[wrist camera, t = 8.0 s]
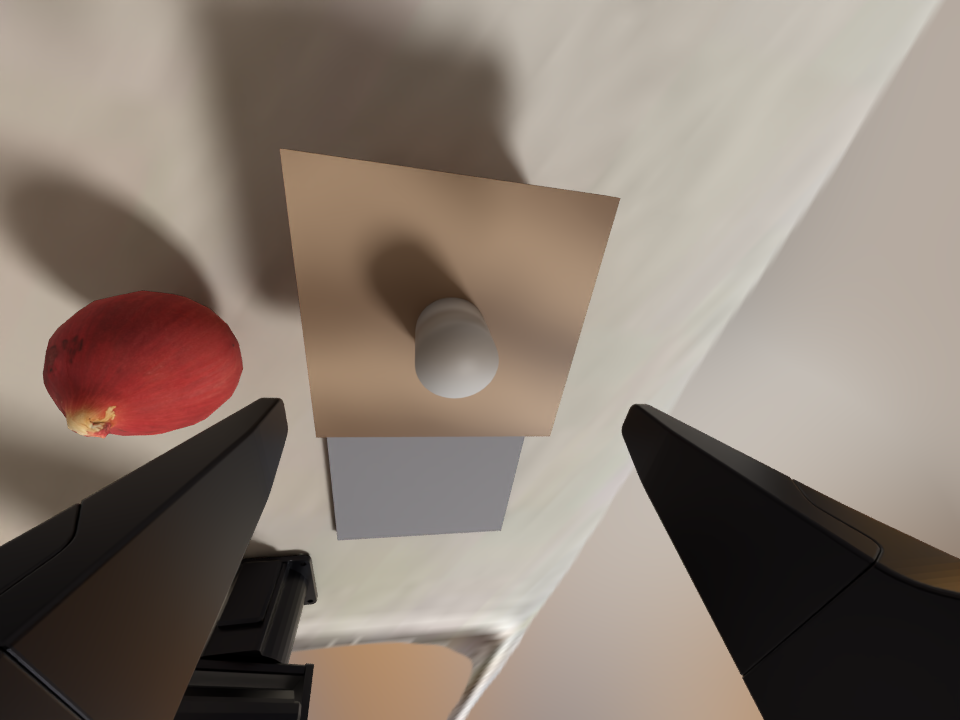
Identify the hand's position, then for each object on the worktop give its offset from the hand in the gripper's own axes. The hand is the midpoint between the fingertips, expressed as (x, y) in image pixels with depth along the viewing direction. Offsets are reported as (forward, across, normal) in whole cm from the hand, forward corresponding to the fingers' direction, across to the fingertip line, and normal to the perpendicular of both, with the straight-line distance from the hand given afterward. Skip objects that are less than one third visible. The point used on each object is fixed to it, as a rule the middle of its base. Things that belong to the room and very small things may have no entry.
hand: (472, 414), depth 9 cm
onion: (+11, +12, +3) cm, 17 cm away
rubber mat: (+11, 0, +14) cm, 18 cm away
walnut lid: (+7, 0, 0) cm, 7 cm away
